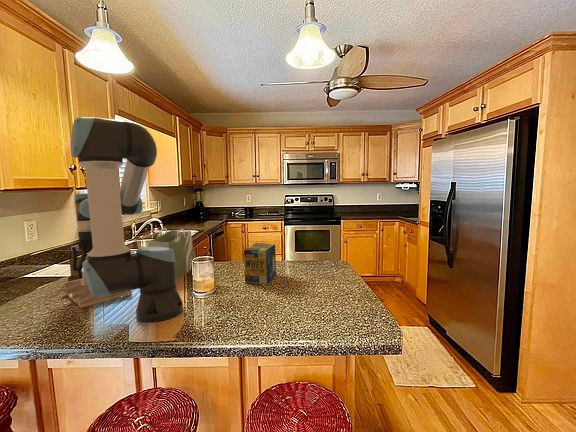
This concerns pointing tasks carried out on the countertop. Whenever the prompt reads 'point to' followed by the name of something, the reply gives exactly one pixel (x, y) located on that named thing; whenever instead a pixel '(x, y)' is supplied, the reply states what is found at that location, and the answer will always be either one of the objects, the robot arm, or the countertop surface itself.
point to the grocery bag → (177, 248)
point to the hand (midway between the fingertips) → (93, 283)
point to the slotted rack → (86, 294)
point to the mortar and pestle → (73, 273)
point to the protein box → (259, 263)
